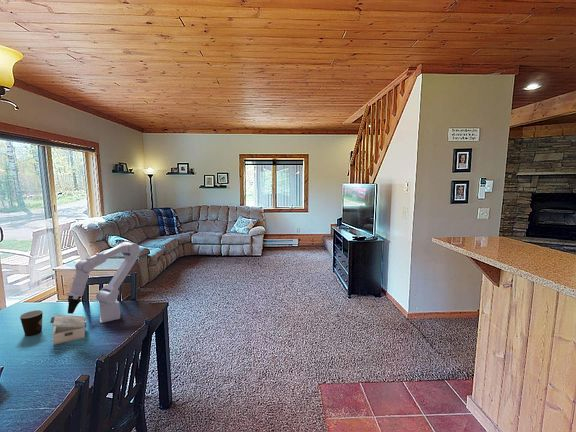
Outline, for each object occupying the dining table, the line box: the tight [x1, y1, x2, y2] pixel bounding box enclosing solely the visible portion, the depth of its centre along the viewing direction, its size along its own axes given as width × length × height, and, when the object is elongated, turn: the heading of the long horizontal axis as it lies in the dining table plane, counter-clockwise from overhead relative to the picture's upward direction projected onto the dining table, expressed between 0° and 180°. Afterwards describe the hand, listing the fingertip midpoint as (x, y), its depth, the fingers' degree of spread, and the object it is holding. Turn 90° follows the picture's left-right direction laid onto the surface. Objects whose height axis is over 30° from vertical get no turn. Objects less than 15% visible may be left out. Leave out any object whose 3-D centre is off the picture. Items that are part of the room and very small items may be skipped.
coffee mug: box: [19, 309, 44, 337], centre depth 151 cm, size 12×9×10 cm
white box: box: [52, 316, 87, 346], centre depth 148 cm, size 13×15×5 cm
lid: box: [49, 313, 85, 328], centre depth 147 cm, size 14×12×1 cm
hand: (70, 311), depth 148 cm, fingers open, 7 cm apart
